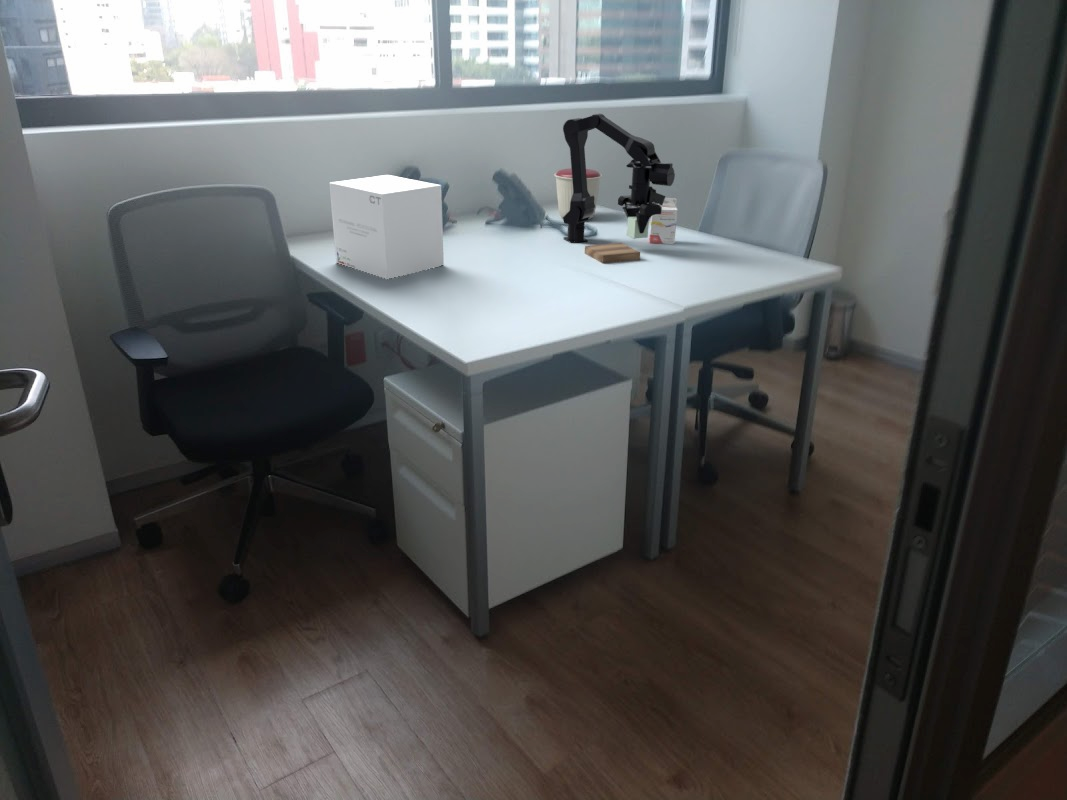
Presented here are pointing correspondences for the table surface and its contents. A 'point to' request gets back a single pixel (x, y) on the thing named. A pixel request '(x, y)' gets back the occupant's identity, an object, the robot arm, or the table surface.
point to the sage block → (635, 229)
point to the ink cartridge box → (664, 223)
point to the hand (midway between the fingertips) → (637, 231)
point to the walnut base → (612, 253)
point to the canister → (566, 188)
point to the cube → (387, 225)
